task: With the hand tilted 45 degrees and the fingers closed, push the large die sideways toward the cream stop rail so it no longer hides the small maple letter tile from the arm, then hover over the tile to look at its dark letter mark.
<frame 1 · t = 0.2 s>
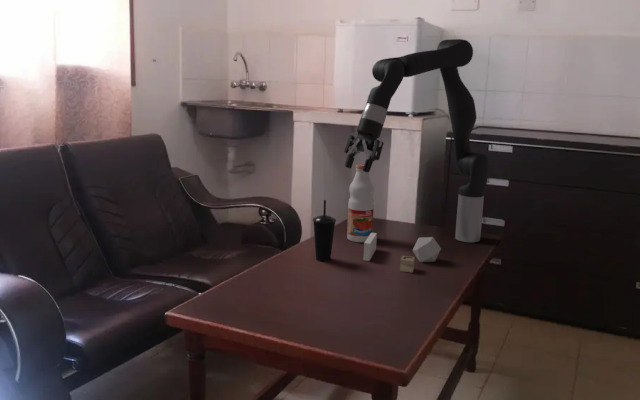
hand: (356, 169, 193), 31 cm above the table, tool tilted 20°, fingers open, 8 cm apart
die: (425, 261, 205), on the table
fruit juice: (359, 239, 228), on the table
drinking cup: (323, 259, 203), on the table
stop rail: (369, 254, 210), on the table
letter block: (406, 270, 195), on the table
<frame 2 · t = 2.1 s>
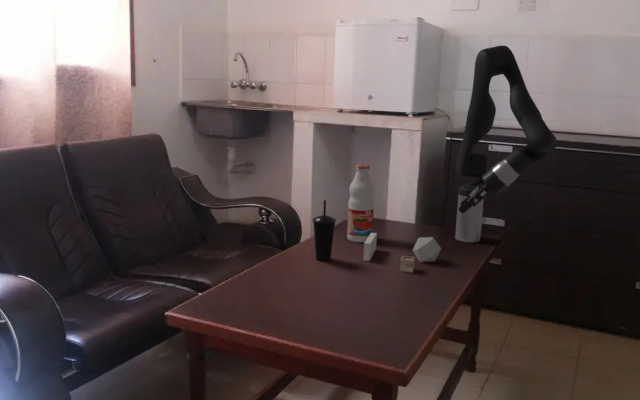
hand: (461, 208, 199), 19 cm above the table, tool tilted 45°, fingers open, 8 cm apart
nothing on the table moved.
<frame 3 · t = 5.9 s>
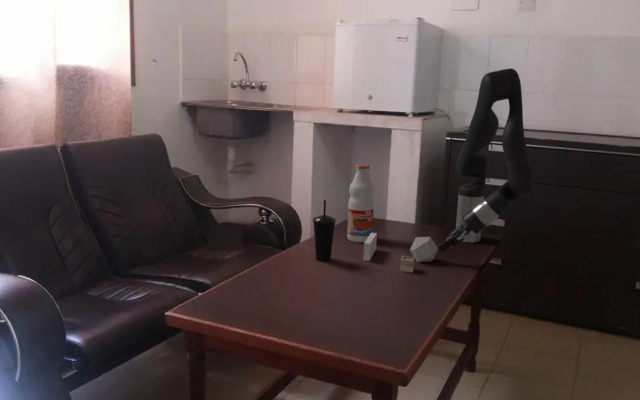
hand: (440, 249, 203), 4 cm above the table, tool tilted 45°, fingers closed
die: (423, 260, 205), on the table, touching gripper
everything else where it was.
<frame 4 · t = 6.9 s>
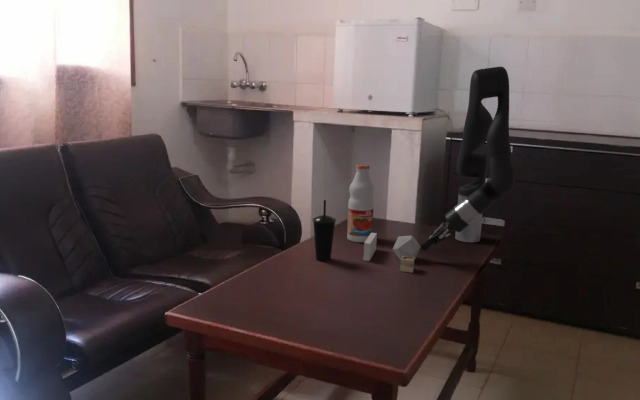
hand: (422, 247, 204), 4 cm above the table, tool tilted 45°, fingers closed
die: (406, 259, 206), on the table, touching gripper
everything else where it was.
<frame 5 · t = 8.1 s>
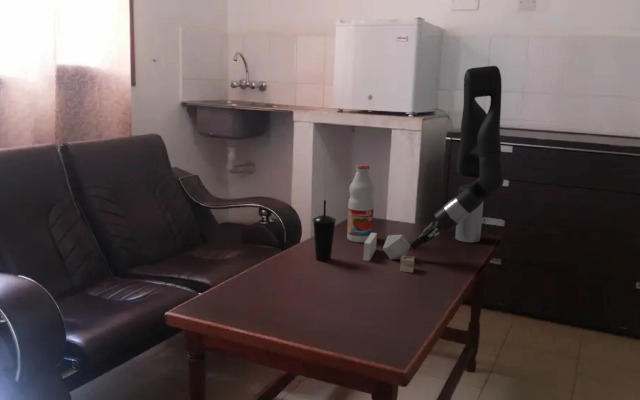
hand: (412, 246, 205), 4 cm above the table, tool tilted 45°, fingers closed
die: (396, 258, 207), on the table, touching gripper
everything else where it was.
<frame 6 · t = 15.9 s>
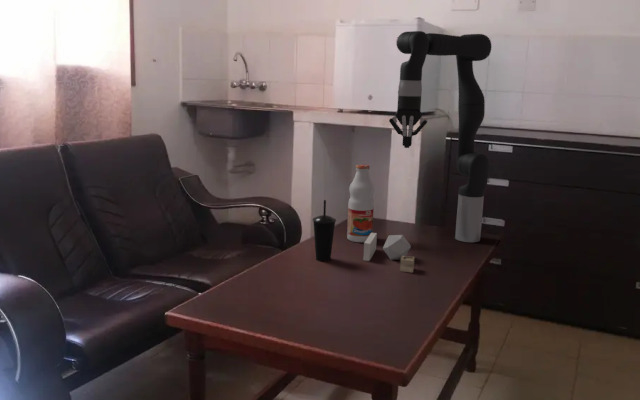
hand: (406, 147, 203), 37 cm above the table, tool pointing down, fingers closed
die: (396, 258, 207), on the table
everything else where it was.
at the end: die 9.1 cm from the stop rail (horizontally); die tilted 2°; letter block moved 0.1 cm from its start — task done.
